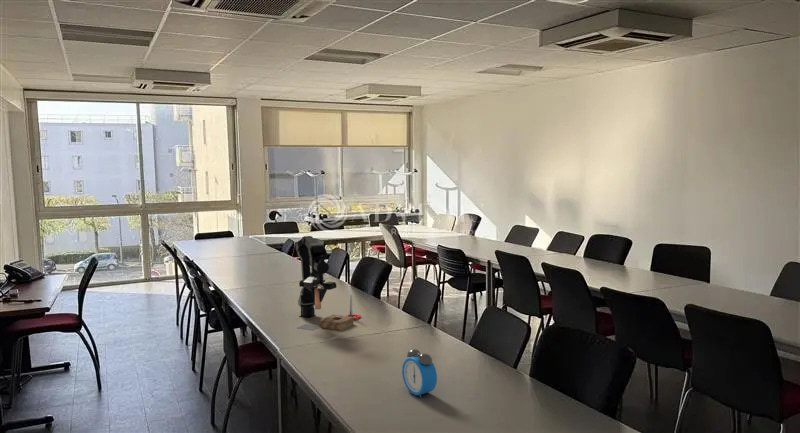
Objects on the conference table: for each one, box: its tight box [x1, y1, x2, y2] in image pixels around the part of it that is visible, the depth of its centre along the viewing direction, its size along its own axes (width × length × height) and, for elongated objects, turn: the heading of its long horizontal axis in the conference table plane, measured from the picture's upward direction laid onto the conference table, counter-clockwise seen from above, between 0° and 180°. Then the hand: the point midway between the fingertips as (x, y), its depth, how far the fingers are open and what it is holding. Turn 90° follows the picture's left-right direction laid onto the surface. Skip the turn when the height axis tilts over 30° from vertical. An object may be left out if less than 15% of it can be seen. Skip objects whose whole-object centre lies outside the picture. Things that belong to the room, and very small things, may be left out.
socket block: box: [319, 313, 354, 331], centre depth 285 cm, size 12×12×4 cm
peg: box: [314, 287, 322, 310], centre depth 282 cm, size 3×3×10 cm
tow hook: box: [345, 294, 362, 321], centre depth 300 cm, size 8×13×9 cm
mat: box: [296, 323, 320, 332], centre depth 283 cm, size 10×8×1 cm
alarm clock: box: [401, 348, 438, 398], centre depth 201 cm, size 13×6×15 cm, turn 35°
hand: (318, 301), depth 282 cm, fingers closed on peg, 3 cm apart
